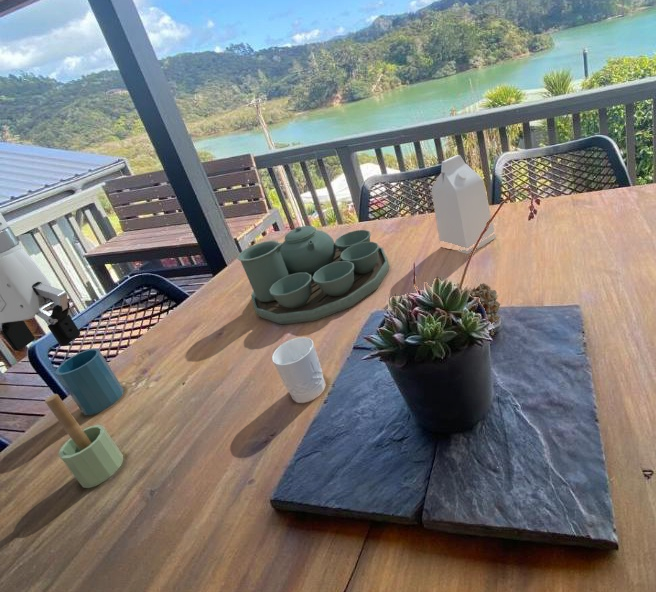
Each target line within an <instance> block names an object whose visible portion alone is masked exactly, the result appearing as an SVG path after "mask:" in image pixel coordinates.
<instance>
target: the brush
mask: <svg viewBox="0 0 656 592" xmlns="http://www.w3.org/2000/svg"><path fill="white" fill-rule="evenodd" d="M44 403H45V404H46V406H47V407H48V408H49V410H50V411H51V412H52V414H53V415H54V416H55V418H56V419H57V421H58V422H59V423H60V425H61V426H62V428H63V429H64V430H65V432H66V433H67V434H68V436H69V438H71V439H72V440H73V441H74V443H75V444H76V446H77V447H78V448H79V450H80V451H82V450H83V449H85V448H86V447H88V446H89V445H90V444H91V441H90V440H89V438H88V437H87V436H86V434H85V433H84V431H83V429H82V427H81V426H80V424H79V422H78V421H77V420H76V418H75V417H74V416H73V414H72V412H71V411H70V410H69V408H68V407H67V406H66V404H65V403H64V401H63V400H62V398H61V397H60V395H59V394H58V393H54V394H51V395H50V396H48V397H47V398H46V399H44Z"/></svg>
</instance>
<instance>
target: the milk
mask: <svg viewBox="0 0 656 592" xmlns="http://www.w3.org/2000/svg"><path fill="white" fill-rule="evenodd" d="M440 169H441V170H440V174H439V175H438V177H437V178H436V179H435V181H434V182H433V184H432V186H431V198H432V203H433V210H434V216H435V222H436V228H437V233H438V239H439V240H440V241H444V242H448V243H452V244H455V245H458V246H461V247H465V248H469V247H470V246H472V245H473V244H475V243H476V241H477V240H478V238H479V236H480V234H481V232H482V230H483V229H484V228H485V226H486V223H487V222H488V221H489V219H490V218H491V217H492V214H491V209H490V204H489V201H488V195H487V192H486V191H487V190H486V187H485V184H484V180H483V178H482V177H481V175H480V174H479V173H478V172H476V171H475V170H474V169H473V168H471V166H469V165H468V163H466V161H465V160H464V158H463V157H462V155H461V154H456V155H453V156H452V157H451V156H450V158H447V159H444V160H443V161H441V167H440ZM493 232H495V234H493V235H492V236H490V237H489V238H487V239H485V238H486V237H488V236H489V235H490V234H492V233H493ZM484 237H485V238H484ZM483 238H484V239H485V240H484V241H482V240H483ZM496 238H497V235H496V231H495V227H494V222H493V221H492V222H491V224H490V226H489V228H488V230H487V231H486V233H485V234H484V236H483V237H482V240H481V242H480V243H479V246H478V247H477V249H476V250H479V249H481V248H482V247H484V246H485V245H487V244H489V243H490V242H492V241H494V240H496ZM440 241H439V242H440ZM472 249H473V247H472V248H471V249H469V250H468V251H466V250H462V251H461V250H460V249H459V250H460V251H457V252H458V253H462V254H465V255H468V254H470V253H472V252H473V251H472ZM471 251H472V252H471ZM469 252H470V253H469Z"/></svg>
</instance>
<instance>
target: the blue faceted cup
mask: <svg viewBox="0 0 656 592" xmlns="http://www.w3.org/2000/svg"><path fill="white" fill-rule="evenodd" d="M55 374H56V376H57V378H58V379H59V381H60V382H61V383H62V385H63V386H64V388H65V390H66V391H67V392H68V394H69V395H70V396H71V398H72V400H73V401H74V402H75V404H76V405H77V408H79V410H80V411H81V412H82V414H83V415H84V416H91V415H96V414H98V413H101V412H103V411H105V410H106V409H108V408H110V407H111V406H113V405H114V404H115V403H116V402H117V401H118V400H120V398H121V397H122V396H123V394H124V388H123V386H122V384H121V383H120V381H119V379H118V378H117V376H116V375H115V373H114V371H113V370H112V368H111V366H110V365H109V363H108V362H107V360H106V359H105V357H104V355H103V354H102V352H101V350H100V349H99V348H89V349H85V350H82V351H80V352H78V353H76V354H74V355H72V356H71V357H69V358H67V359H66V360H64V361H63V362H62V363H60V365H59V366H58V367H57V368H56V370H55Z"/></svg>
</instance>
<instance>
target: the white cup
mask: <svg viewBox="0 0 656 592" xmlns="http://www.w3.org/2000/svg"><path fill="white" fill-rule="evenodd" d="M271 361H272V364H273V365H274V367H275V369H276V371H277V373H278V375H279V377H280V379H281V381H282V382H283V384H284V386H285V389H287V391H288V393H289V395H290V397H291V399H292V400H293V401H294V402H295V403H299V404H305V403H308V402H312V401H313V400H315V399H317V398H318V397H320V395H321V394H322V393H323V392H324V391H325V388H326V386H327V385H326V380H325V378H324V375H323V374H324V373H323V369H322V366H321V363H320V359H319V355H318V353H317V350H316V347H315V343H314V341H313V339H311V337H308V336H307V337H306V336H299V337H295V338H292V339H289V340H287V341H285V342H283V343H281V345H279V346H278V347H276V349H275V350H274V352H273V353H272V355H271Z"/></svg>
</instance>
